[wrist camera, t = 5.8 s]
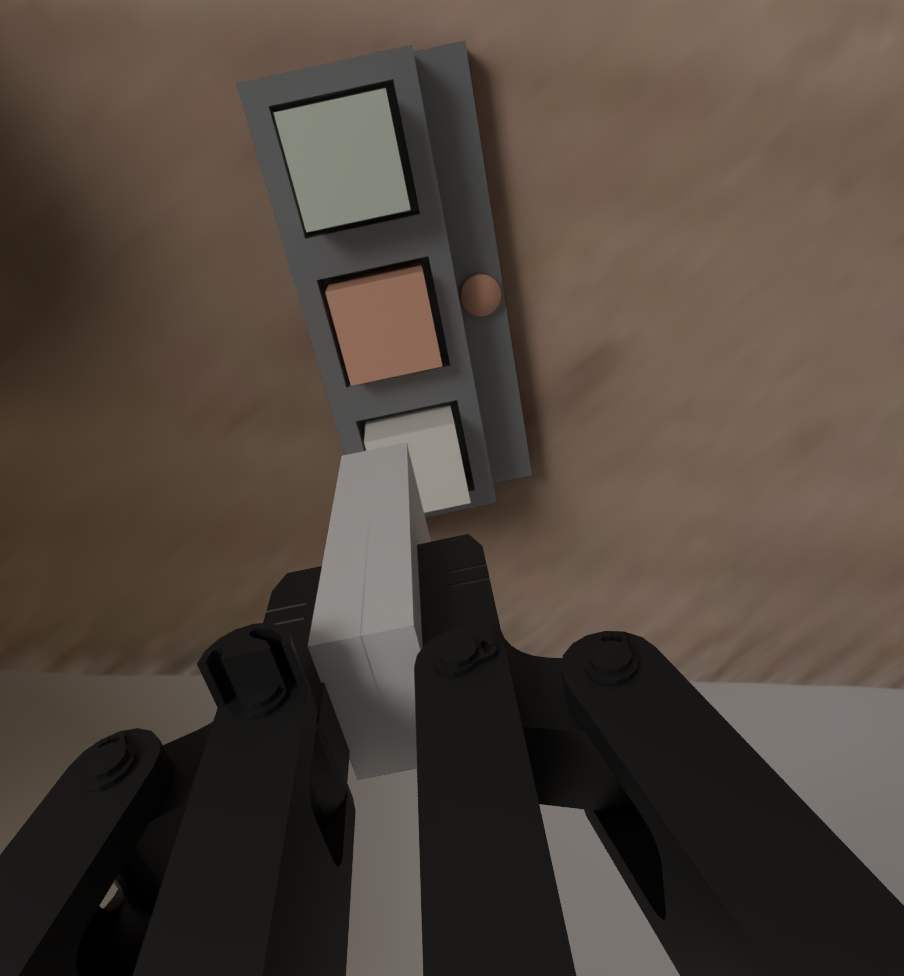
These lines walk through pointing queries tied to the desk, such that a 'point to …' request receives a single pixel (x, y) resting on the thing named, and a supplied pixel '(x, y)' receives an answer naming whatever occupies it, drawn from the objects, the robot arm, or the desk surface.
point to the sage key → (343, 159)
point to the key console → (409, 254)
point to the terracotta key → (384, 323)
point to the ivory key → (426, 452)
